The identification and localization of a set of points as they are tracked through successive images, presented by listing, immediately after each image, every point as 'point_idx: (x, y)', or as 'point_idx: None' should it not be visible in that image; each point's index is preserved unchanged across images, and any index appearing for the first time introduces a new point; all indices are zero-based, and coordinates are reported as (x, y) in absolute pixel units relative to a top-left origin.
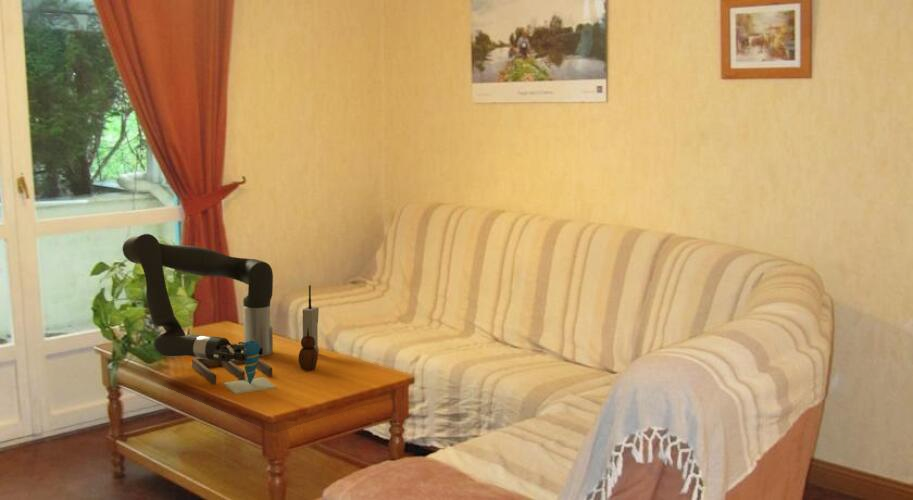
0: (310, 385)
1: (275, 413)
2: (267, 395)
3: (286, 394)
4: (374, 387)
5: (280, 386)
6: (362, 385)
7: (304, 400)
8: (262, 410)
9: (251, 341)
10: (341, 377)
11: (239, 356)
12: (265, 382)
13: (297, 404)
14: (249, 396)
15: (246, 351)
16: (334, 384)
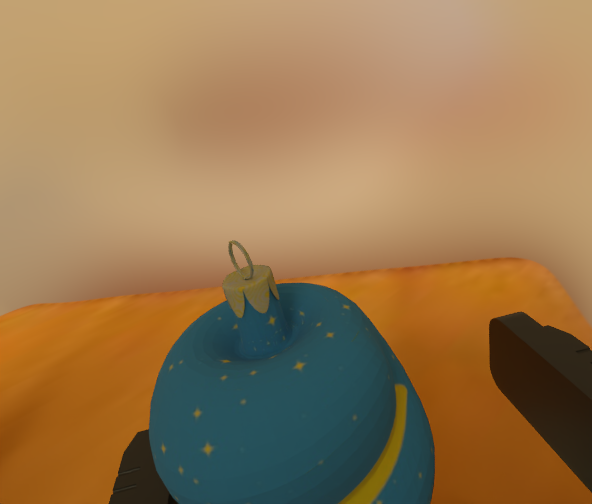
0: None
1: (511, 266)
2: (424, 407)
3: None
4: (129, 296)
5: None
6: (117, 318)
7: None
8: (546, 294)
9: (279, 310)
10: (19, 405)
11: (586, 355)
12: None
13: (395, 289)
14: (531, 453)
15: (417, 398)
16: (129, 362)
